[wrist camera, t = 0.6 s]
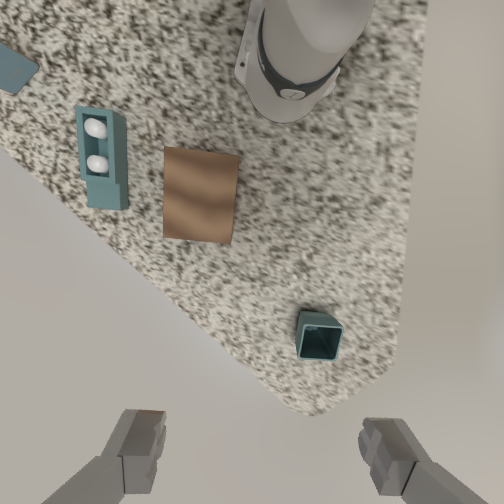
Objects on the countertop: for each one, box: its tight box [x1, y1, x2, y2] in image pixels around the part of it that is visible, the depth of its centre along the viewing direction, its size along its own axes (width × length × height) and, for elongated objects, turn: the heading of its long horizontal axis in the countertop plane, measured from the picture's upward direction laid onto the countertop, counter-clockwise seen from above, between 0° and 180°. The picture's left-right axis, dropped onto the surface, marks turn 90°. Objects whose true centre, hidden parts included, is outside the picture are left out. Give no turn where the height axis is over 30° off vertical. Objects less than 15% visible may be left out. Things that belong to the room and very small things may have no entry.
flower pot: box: [295, 311, 344, 361], centre depth 55 cm, size 9×9×9 cm
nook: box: [163, 146, 239, 244], centre depth 45 cm, size 15×12×10 cm
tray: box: [75, 105, 129, 211], centre depth 44 cm, size 17×6×6 cm, turn 173°
